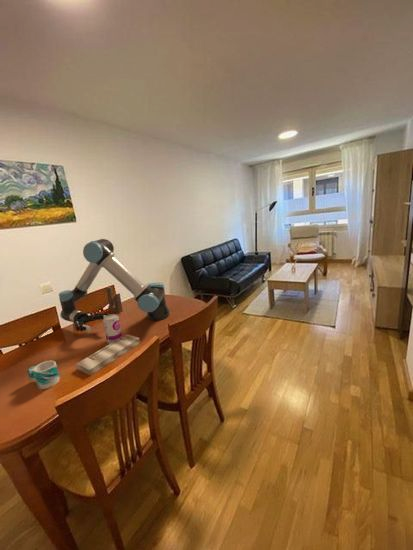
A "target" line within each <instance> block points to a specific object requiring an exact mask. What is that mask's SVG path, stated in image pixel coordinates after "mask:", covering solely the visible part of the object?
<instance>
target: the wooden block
mask: <svg viewBox="0 0 413 550" xmlns="http://www.w3.org/2000/svg"><path fill="white" fill-rule="evenodd" d="M105 291H106V296H107V301H108V306H107V307H108V311H109V312H113V313H116V314H117V313H118V314H120V313H122V312H124V311H123V306H122V305H123V304H122V299H121V293H120V292H118V293H117V294H115V295H114V297H113V290H112V287H111V286H107V287H105Z"/></svg>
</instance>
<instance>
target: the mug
mask: <svg viewBox="0 0 413 550" xmlns="http://www.w3.org/2000/svg"><path fill="white" fill-rule="evenodd" d="M26 370H27V374H28V377H29V380H30V381H35V383H36V385H37V388H38V389H39V390H46V388H47V389H49V387H50V388H52V387H54V386H56V385H57V384H58V383H59V382H60V380H61V377H60V375H59V371H58V366H57V363H56V361H54V360H51V359H50V360H45V361H44V362H40V363H38V364H37V365H35V366H33V365H32V366H31V367H29V368H28V369H26ZM51 386H52V387H51Z"/></svg>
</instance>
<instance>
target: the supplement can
mask: <svg viewBox="0 0 413 550" xmlns="http://www.w3.org/2000/svg"><path fill="white" fill-rule="evenodd" d="M120 322H121V321H120V317H119V315H118V314H117V313H112V314H107V316H105V317H104V319H102V323H103V329H104V334H105V341H106V343H107V344H108V345H109V344H111V343H113V342H114V341H116V340H118V339H119V338H121V337H123V335H122V334H123V333H122V327H121V323H120Z"/></svg>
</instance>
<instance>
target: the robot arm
mask: <svg viewBox="0 0 413 550" xmlns="http://www.w3.org/2000/svg"><path fill="white" fill-rule="evenodd" d="M114 250H115V248H114V245H113V242H111V241H110V240H109V239H107V238H99V239H97V240H92V241H90V242H88V243H86V244H85V245H84V246H83V250H82V252H83V253H82V255H83V258H84V259H85V260H86V261H87V262H88V265H87V267H86V268H85V270H84V272H83V274H82V275H81V277H80V278H79V280H78V281H77V284H76V285H75V287H74V289H72V290H69V289H68V290H63V291H61V292H59V293H58V298H59V302H60V306H61V311H60V315H59V316H60V317H61V319H62V320H65V321H67V322H71V323H73V326H74V327H75V330H76V332H79V331H80V332H83V331H86V332H89V333H92V327H91V326H89V325H86V324H87V323H90V322H94V321H98V320H99V321H100V320H104V317H105V316H107V315H108V313H107V312H103V313H102V312H100V313H98V312H97V313H95V312H93V313H92V314H91V315H90V314H88V313H86V312H84V311H80V310H77V308H76V302H79V301H80V300H81V299H83V298H85V297H86V296H87V295H88V290H89V289H90V287H91V285H92V284H93V282H94V280H95V279H96V277H97V276H98V274H99V272H100V271H101V269H102V268H104V269H105V270H106V271H107V272H108V273H109V274H110V275H111V276H112V277H114V278H115V279H116V280H117V281H118V282H119V283H120V284H121V285H122V286H123V287H124V288H125V289H126V290H128V291H129V292H130V293H131V294H132V295H133V299H134V301H136V303H137V307H138V308H139V310H141V311H142V312H144V313H146V317H147V319H148V320H150V321H160V320H159V319H161V320H164V319H166V318H168V317H169V316H170V315H169V314H171V313H170V309H169V307H168V305H167V300H166V292H165V285H164V283H163V282H150V283H147V284H144V283H143V282H142V281H140V279H138V278H137V277H136V276H135V275H134V274H133V273H132V272H131V271H130V270H129V269H128V268H127V267H126V266H124V264H122V263H121V262H120V260H118V259H117V258H116V257H115V253H114ZM168 315H169V316H168ZM167 316H168V317H167ZM165 317H166V318H165ZM163 318H164V319H163Z"/></svg>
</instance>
